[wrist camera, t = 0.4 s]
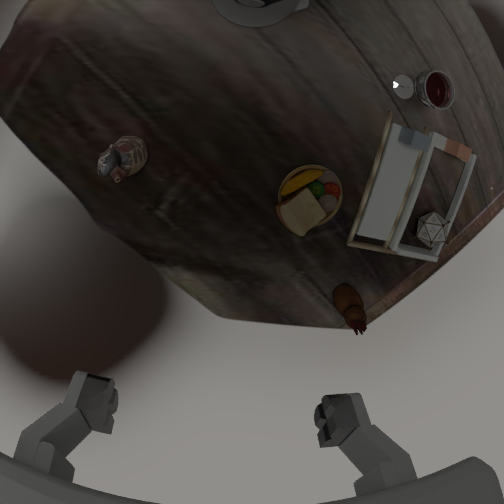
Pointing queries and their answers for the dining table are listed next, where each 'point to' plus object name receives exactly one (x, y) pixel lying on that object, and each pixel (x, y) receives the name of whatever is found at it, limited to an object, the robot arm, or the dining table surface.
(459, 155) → the grey rectangular frame
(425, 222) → the game die
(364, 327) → the wooden figurine
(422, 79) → the wineglass
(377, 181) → the inner strip
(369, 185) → the lane rails
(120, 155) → the figurine
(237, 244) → the dining table surface
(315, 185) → the toy sandwich meal
